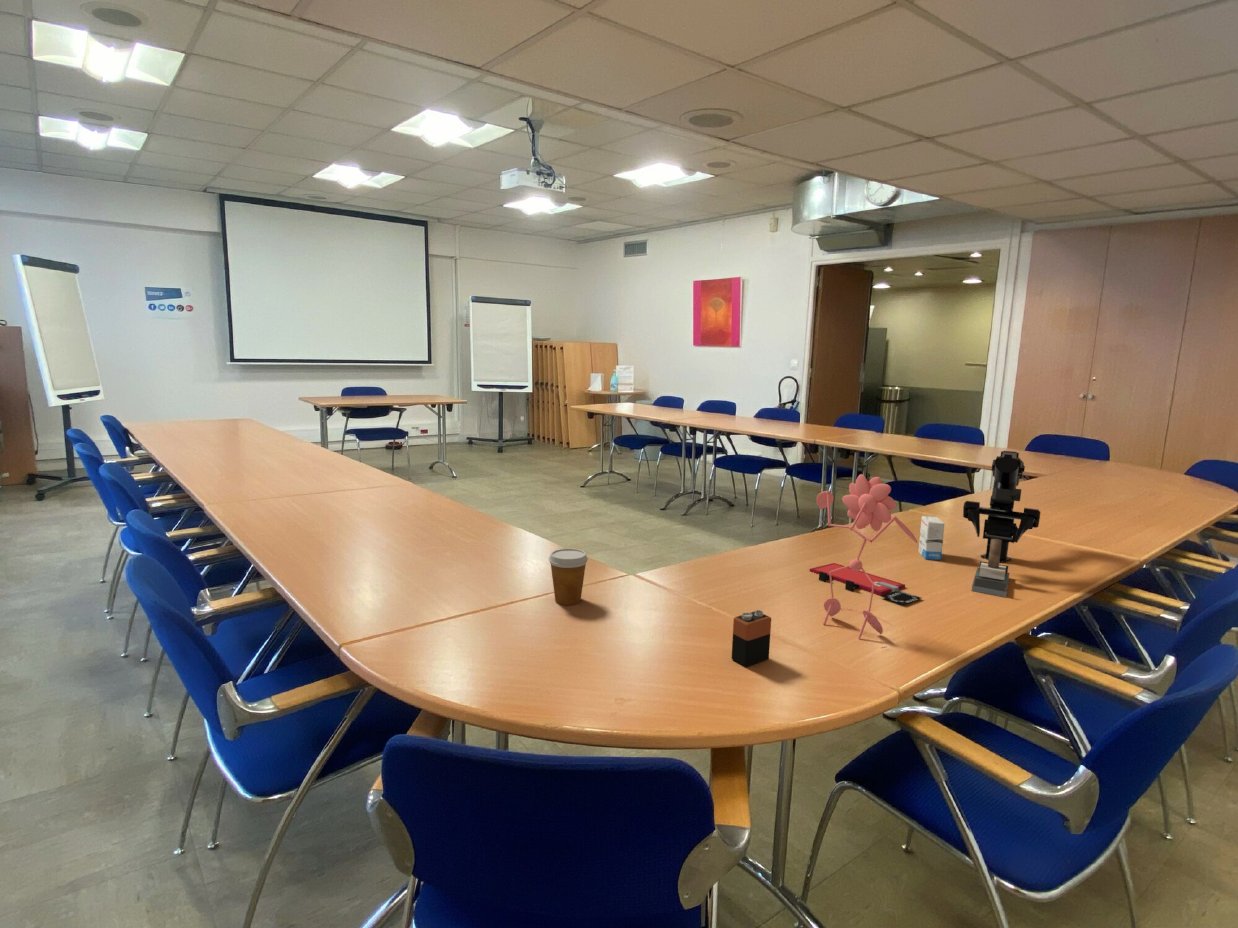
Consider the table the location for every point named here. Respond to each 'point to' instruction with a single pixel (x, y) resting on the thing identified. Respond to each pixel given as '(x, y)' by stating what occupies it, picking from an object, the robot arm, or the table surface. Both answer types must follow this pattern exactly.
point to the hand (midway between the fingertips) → (997, 538)
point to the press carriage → (993, 562)
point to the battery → (751, 638)
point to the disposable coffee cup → (568, 574)
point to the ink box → (931, 538)
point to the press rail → (991, 583)
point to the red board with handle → (864, 582)
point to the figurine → (866, 509)
